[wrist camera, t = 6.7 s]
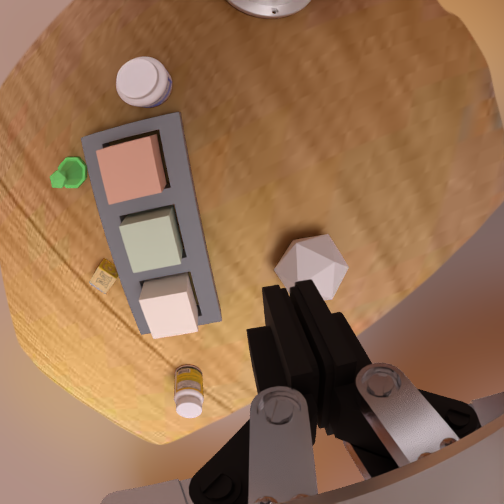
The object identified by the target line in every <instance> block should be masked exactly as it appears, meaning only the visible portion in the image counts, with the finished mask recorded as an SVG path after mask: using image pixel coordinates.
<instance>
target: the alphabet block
mask: <svg viewBox="0 0 504 504" xmlns="http://www.w3.org/2000/svg"><path fill="white" fill-rule="evenodd" d="M117 277H118V272H117V269H116V266H115V265H114V264H112V263H111V262H109V261H108V260H106V259H105V258H104V259H103V260H102V262H101V263H100V265H99V266H98V268H97V270H96V271H95V273H94V275H93V276H92V278H91V280H90V281H89V283H90V284H91V285H93V286H94V287H96V288H97V289H99V290H100V291H102V292H103V293H104V294H107V293H108V291H109V290H110V288H111V287H112V285H113V284H114V282H115V281H116V279H117Z"/></svg>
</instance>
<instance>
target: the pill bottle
mask: <svg viewBox="0 0 504 504" xmlns="http://www.w3.org/2000/svg"><path fill="white" fill-rule="evenodd" d="M116 89H117V92H118V94H119V96H120V97H121V99H122V100H123V101H125V102H126V103H128V104H130V105H133V106H138V107H145V108H151V107H156V106H158V105H160V104H162V103H163V102H165V101H166V100H167V99H168V97H169V96H170V94H171V91H172V79H171V76H170V74H169V73H168V71H167V70H166V69H165V67H164V66H163V64H162V63H161V62H159V61H158V60H156V59H154V58H152V57H137V58H134V59H132V60H130V61H128V62H126V63H125V64H124V65H123V66H122V67H121V68H120V70H119V72H118V74H117V79H116Z"/></svg>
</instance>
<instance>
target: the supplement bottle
mask: <svg viewBox="0 0 504 504" xmlns="http://www.w3.org/2000/svg"><path fill="white" fill-rule="evenodd" d="M174 401H175V403H176V411H177V413H178V414H179V415H180V416H182V417H185V418H194V417H197V416H199V415H200V414H201V413H202V403H203V401H204V395H203V379H202V372H201V370H200V369H199V368H197V367H196V366H193V365H183V366H180V367H179V368H178V369H177V370H176V371H175V383H174Z"/></svg>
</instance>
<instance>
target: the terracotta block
mask: <svg viewBox="0 0 504 504" xmlns="http://www.w3.org/2000/svg"><path fill="white" fill-rule="evenodd" d="M96 154H97V158H98V163H99V167H100V171H101V176H102V180H103V184H104V188H105V192H106V196H107V200H108V204H109V205H110V204H114V203H118V202H123V201H127V200H131V199H135V198H140V197H144V196H148V195H153V194H157V193H162V191H163V189H164V187H165V185H166V183H167V182H166V177H165V173H164V168H163V163H162V158H161V153H160V148H159V143H158V137H157V134H155V135H151V136H146V137H142V138H138V139H134V140H130V141H127V142H123V143H119V144H115V145H112V146H108V147H105V148H103V149H100V150H97V151H96Z"/></svg>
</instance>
